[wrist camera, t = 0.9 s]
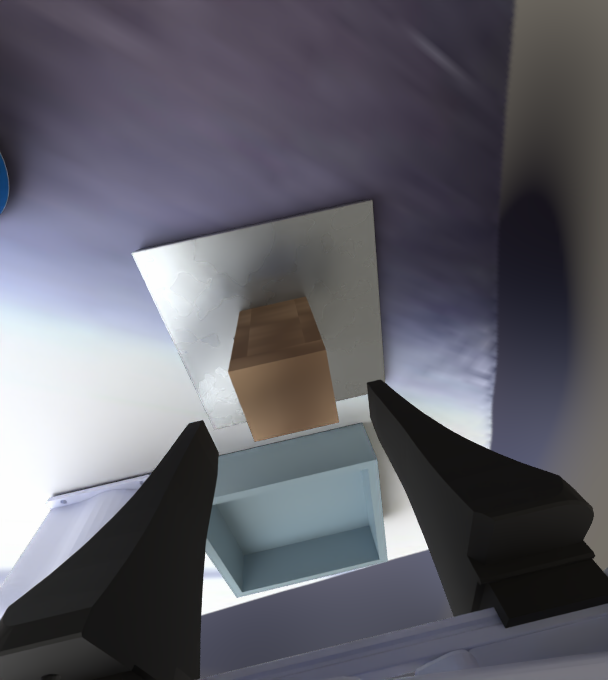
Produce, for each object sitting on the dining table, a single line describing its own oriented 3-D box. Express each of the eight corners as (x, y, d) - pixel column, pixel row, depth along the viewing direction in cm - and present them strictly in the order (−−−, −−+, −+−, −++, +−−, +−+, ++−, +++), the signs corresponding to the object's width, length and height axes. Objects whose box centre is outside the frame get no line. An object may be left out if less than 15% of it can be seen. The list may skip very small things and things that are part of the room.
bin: (239, 554, 34) (236, 597, 30) (186, 463, 26) (174, 506, 23) (374, 522, 34) (387, 561, 30) (362, 422, 26) (377, 459, 23)
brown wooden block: (257, 366, 21) (254, 441, 15) (239, 311, 19) (227, 372, 13) (317, 353, 21) (339, 422, 15) (306, 296, 19) (326, 349, 13)
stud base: (216, 420, 24) (204, 476, 20) (138, 249, 17) (92, 273, 13) (381, 382, 24) (408, 429, 20) (366, 199, 18) (403, 204, 13)
